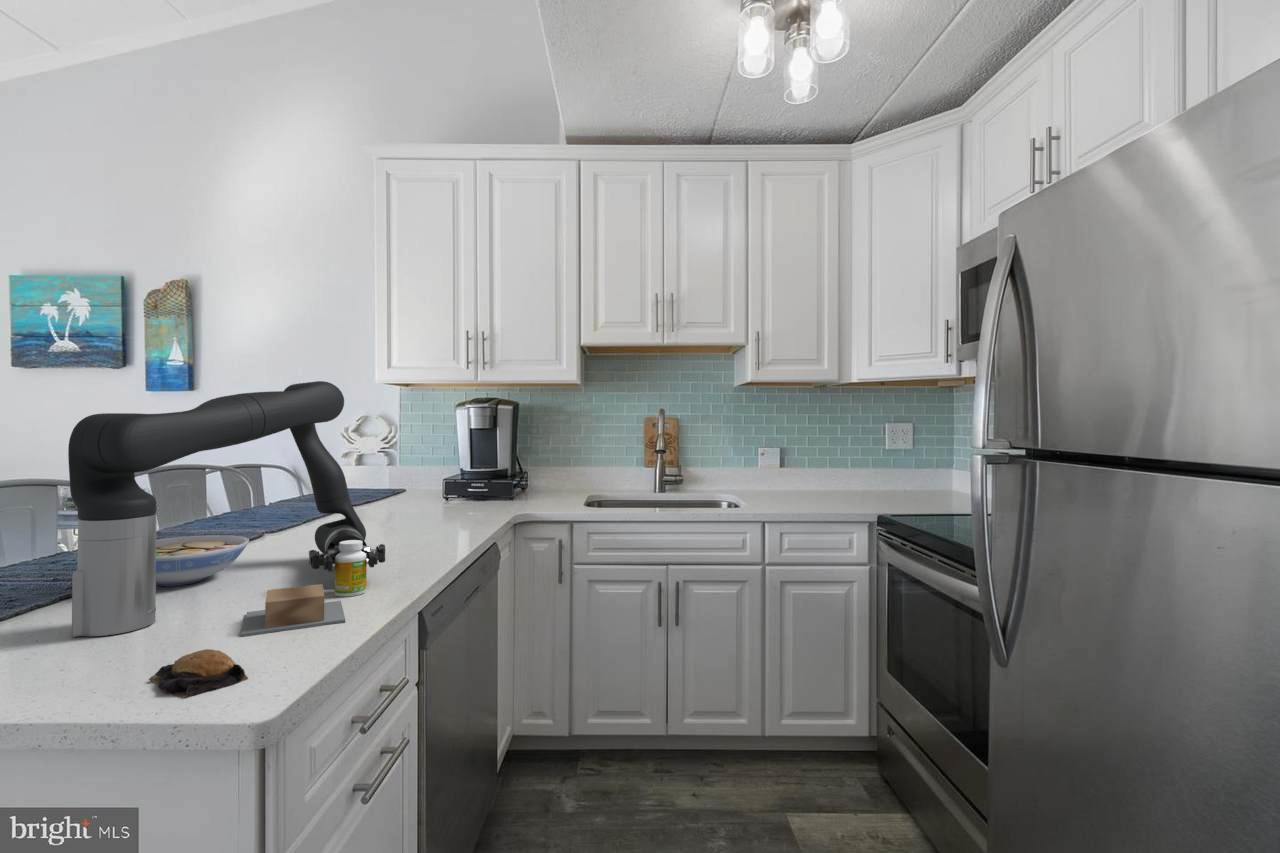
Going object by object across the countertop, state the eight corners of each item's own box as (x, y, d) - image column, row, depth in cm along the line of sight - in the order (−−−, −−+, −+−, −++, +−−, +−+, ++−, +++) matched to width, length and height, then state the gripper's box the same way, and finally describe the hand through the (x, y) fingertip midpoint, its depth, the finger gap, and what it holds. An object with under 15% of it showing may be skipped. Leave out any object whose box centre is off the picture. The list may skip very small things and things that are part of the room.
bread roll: (143, 684, 74) (143, 654, 74) (222, 662, 81) (222, 635, 81) (174, 707, 68) (174, 675, 68) (256, 681, 75) (256, 652, 75)
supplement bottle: (353, 598, 110) (354, 545, 110) (327, 596, 111) (328, 543, 111) (372, 590, 115) (372, 539, 115) (347, 588, 116) (348, 538, 116)
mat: (241, 636, 89) (241, 633, 89) (246, 614, 100) (247, 612, 100) (345, 622, 96) (345, 619, 96) (340, 602, 107) (340, 600, 107)
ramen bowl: (251, 587, 116) (251, 545, 116) (93, 606, 103) (93, 559, 103) (247, 562, 137) (247, 527, 137) (115, 576, 124) (115, 536, 124)
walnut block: (265, 628, 92) (265, 602, 92) (267, 614, 98) (267, 590, 98) (324, 620, 96) (324, 595, 96) (322, 607, 102) (322, 584, 102)
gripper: (306, 532, 122) (307, 547, 107) (382, 527, 129) (393, 540, 114) (306, 569, 122) (307, 589, 107) (382, 562, 129) (393, 579, 114)
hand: (351, 563), depth 111 cm, fingers open, 6 cm apart
